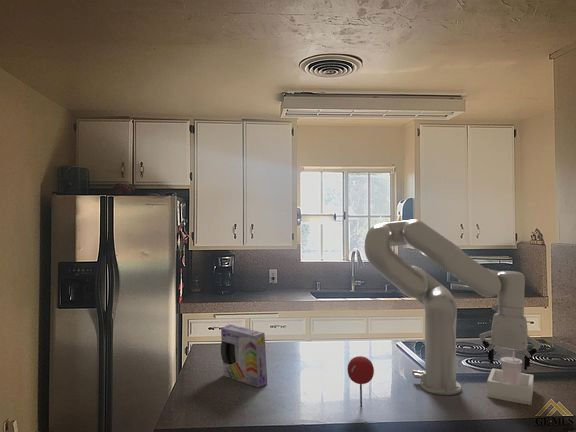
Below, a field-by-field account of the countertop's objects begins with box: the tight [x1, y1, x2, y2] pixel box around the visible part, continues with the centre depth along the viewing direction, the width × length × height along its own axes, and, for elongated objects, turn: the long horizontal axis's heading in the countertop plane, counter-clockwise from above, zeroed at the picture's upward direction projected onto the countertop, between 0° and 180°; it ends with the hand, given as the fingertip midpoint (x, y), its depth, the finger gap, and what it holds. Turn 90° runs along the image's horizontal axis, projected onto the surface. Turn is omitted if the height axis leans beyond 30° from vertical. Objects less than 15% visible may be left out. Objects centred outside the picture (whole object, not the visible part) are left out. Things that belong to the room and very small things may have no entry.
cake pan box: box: [220, 324, 268, 388], centre depth 155 cm, size 19×5×18 cm, turn 47°
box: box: [486, 368, 535, 406], centre depth 142 cm, size 12×12×5 cm
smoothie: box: [499, 350, 524, 385], centre depth 141 cm, size 6×6×14 cm
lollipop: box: [347, 355, 375, 408], centre depth 133 cm, size 8×8×15 cm
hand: (508, 365), depth 142 cm, fingers open, 9 cm apart
